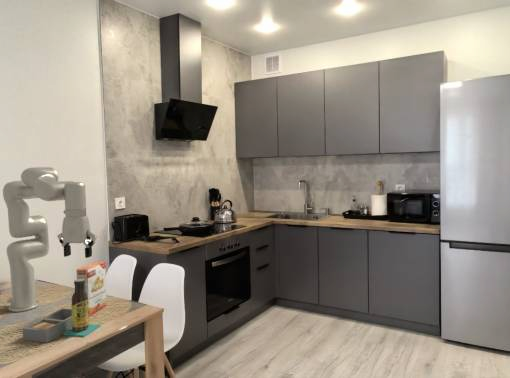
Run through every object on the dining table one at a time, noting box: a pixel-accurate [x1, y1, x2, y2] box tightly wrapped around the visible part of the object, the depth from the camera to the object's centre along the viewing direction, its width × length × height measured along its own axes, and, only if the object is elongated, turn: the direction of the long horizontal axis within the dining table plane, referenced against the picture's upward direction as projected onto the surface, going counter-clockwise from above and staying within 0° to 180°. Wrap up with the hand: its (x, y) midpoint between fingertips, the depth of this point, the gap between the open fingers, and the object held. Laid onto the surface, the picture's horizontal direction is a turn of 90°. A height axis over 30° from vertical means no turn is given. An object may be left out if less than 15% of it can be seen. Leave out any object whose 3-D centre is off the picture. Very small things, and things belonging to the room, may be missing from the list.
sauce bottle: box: [71, 278, 90, 331], centre depth 156 cm, size 6×6×20 cm
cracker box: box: [76, 261, 108, 317], centre depth 178 cm, size 14×6×21 cm, turn 168°
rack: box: [22, 307, 72, 343], centre depth 158 cm, size 11×21×4 cm, turn 166°
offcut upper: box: [32, 322, 56, 330], centre depth 153 cm, size 7×5×2 cm
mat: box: [61, 323, 101, 338], centre depth 157 cm, size 10×10×1 cm
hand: (78, 256), depth 155 cm, fingers open, 9 cm apart
